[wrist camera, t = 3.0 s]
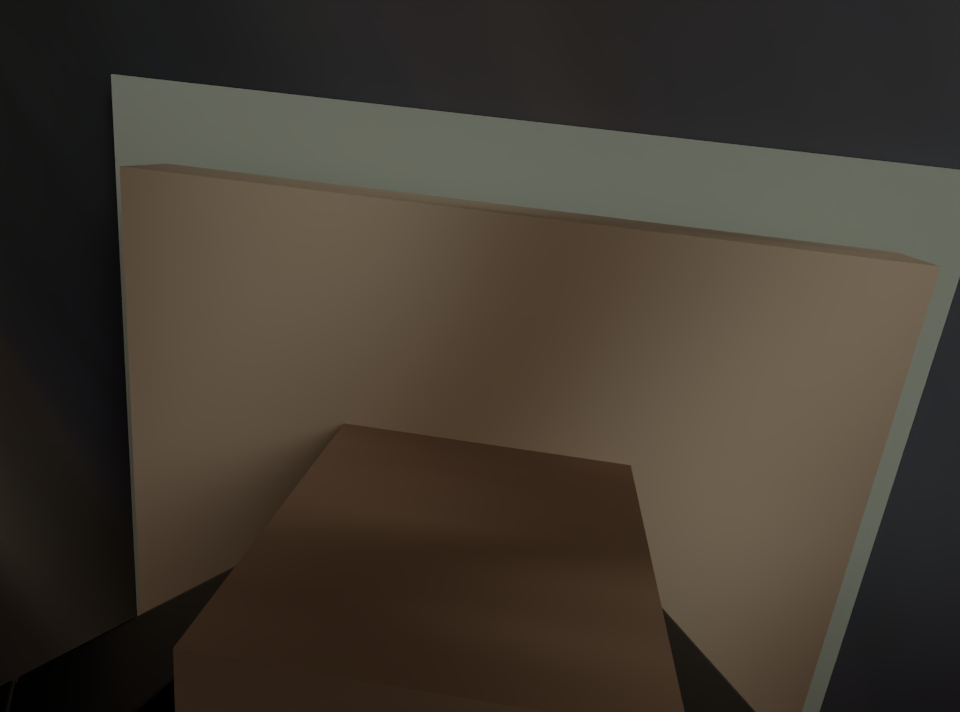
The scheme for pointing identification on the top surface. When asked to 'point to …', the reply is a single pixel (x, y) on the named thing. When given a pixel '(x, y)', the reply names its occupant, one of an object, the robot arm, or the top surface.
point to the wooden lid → (494, 444)
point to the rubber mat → (570, 203)
